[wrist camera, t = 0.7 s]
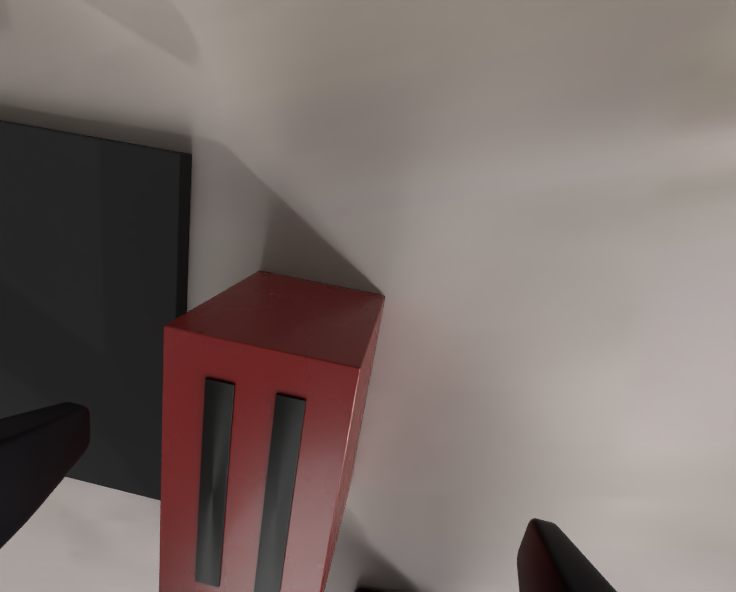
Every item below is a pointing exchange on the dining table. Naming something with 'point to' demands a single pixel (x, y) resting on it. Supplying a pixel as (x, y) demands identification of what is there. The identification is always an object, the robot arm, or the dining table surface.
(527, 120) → the dining table surface
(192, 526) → the toaster
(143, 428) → the placemat
